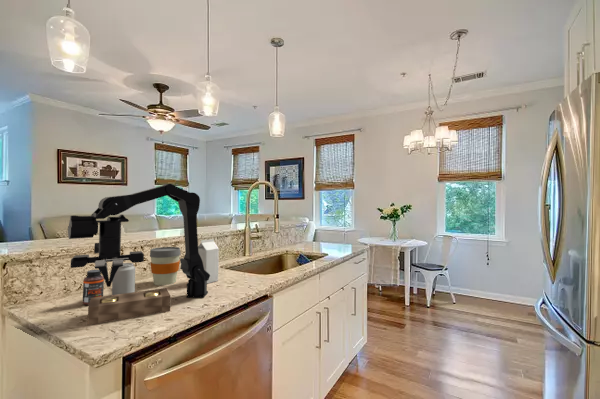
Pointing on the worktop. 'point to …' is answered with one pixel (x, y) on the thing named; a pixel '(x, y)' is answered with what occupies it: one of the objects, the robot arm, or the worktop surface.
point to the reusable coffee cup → (164, 264)
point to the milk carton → (209, 258)
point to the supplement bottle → (92, 286)
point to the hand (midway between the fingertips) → (108, 286)
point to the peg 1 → (109, 299)
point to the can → (124, 279)
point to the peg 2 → (151, 294)
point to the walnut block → (128, 306)
